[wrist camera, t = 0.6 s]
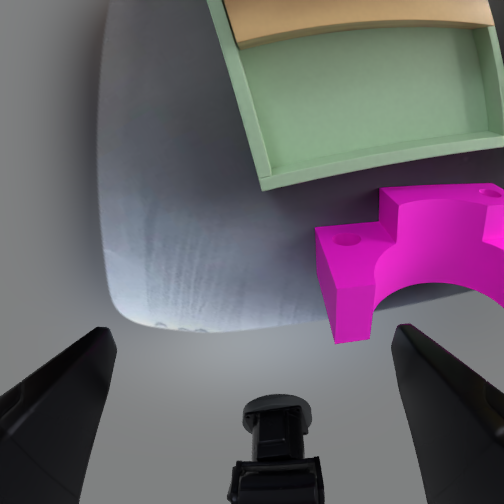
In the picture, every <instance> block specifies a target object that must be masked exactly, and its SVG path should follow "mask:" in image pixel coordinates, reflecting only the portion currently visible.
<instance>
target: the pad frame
mask: <svg viewBox="0 0 504 504" xmlns="http://www.w3.org/2000/svg"><path fill="white" fill-rule="evenodd" d="M207 3H208V7H209V10H210V13H211V16H212V20H213V23H214V26H215V29H216V33H217V36H218V39H219V43H220V46H221V49H222V53H223V56H224V59H225V63H226V66H227V69H228V73H229V76H230V80H231V83H232V86H233V90H234V93H235V97H236V100H237V104H238V107H239V111H240V114H241V118H242V121H243V125H244V128H245V132H246V135H247V139H248V143H249V146H250V150H251V153H252V157H253V161H254V164H255V168H256V172H257V175H258V178H259V183H260V186H261V190H262V191H267V190H271V189H275V188H280V187H284V186H288V185H293V184H297V183H302V182H306V181H311V180H315V179H320V178H325V177H329V176H334V175H339V174H344V173H349V172H354V171H359V170H364V169H369V168H374V167H379V166H385V165H390V164H396V163H401V162H407V161H413V160H419V159H424V158H431V157H437V156H443V155H449V154H456V153H463V152H470V151H477V150H484V149H492V148H500V147H504V67H503V61H502V56H501V51H500V47H499V42H498V38H497V34H496V30H495V26H490V27H483V28H476V29H458V28H438V27H396V28H375V29H362V30H351V31H342V32H333V33H326V34H318V35H312V36H306V37H300V38H294V39H289V40H283V41H278V42H274V43H269V44H264V45H260V46H256V47H251V48H247V49H243V50H240V49H239V46H238V44H237V42H236V39H235V36H234V32H233V29H232V26H231V23H230V19H229V16H228V13H227V10H226V7H225V4H224V0H207Z"/></svg>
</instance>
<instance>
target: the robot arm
mask: <svg viewBox="0 0 504 504" xmlns="http://www.w3.org/2000/svg"><path fill="white" fill-rule="evenodd" d="M391 350H392V355H393V361H394V366H395V370H396V376H397V382H398V387H399V392H400V395H401V399H402V402H403V406H404V409H405V413H406V416H407V420H408V424H409V427H410V431H411V435H412V438H413V442H414V446H415V450H416V454H417V458H418V462H419V467H420V471H421V475H422V480H423V484H424V489H425V494H426V498H427V503H428V504H504V393H502V392H501V391H500V390H498V389H497V388H496V387H494V386H493V385H492V384H490V383H489V382H488V381H487V382H486V380H485V379H484V378H482V377H481V376H480V375H479V374H477V373H476V372H475V371H473V370H472V369H470V368H469V367H468V366H467V365H465V364H464V363H463V362H462V361H460V360H459V359H457V358H456V357H455V356H454V355H452V354H451V353H450V352H448V351H447V350H445V349H444V348H443V347H441V346H440V345H439V344H438V343H436V342H435V341H433V340H432V339H431V338H429V337H428V336H426V335H425V334H424V333H422V332H421V331H420V330H418V329H417V328H416V327H414V326H413V325H411V324H400V325H398V326H397V328H396V331H395V335H394V338H393V341H392V345H391ZM116 353H117V348H116V344H115V342H114V339H113V336H112V334H111V331H110V329H109V328H107V327H96V328H95V329H93V330H92V331H90V332H89V333H87V334H86V335H85V336H83V337H82V338H80V339H79V340H78V341H76V342H75V343H73V344H72V345H71V346H69V347H68V348H66V349H65V350H64V351H62V352H61V353H59V354H58V355H57V356H55V357H54V358H52V359H51V360H50V361H48V362H47V363H46V364H44V365H43V366H41V367H40V368H39V369H37V370H36V371H35V372H33V373H32V374H30V375H29V376H28V377H26V378H25V379H24V380H22V382H20V383H18V384H17V385H16V386H14V387H13V388H11V389H10V390H9V391H7V392H6V393H4V394H3V395H2V396H0V504H79V501H80V500H79V499H80V495H81V491H82V486H83V482H84V478H85V474H86V470H87V466H88V462H89V458H90V454H91V450H92V447H93V443H94V439H95V436H96V432H97V429H98V425H99V422H100V418H101V415H102V412H103V408H104V405H105V402H106V399H107V395H108V391H109V387H110V382H111V377H112V372H113V367H114V362H115V358H116ZM244 419H245V421H246V423H247V425H248V426H249V428H250V430H251V432H252V434H253V436H252V461H244V462H242V461H237V462H236V466H235V467H233V470H232V480H231V484H230V487H229V491H228V494H227V500H228V501H230V502H231V504H324V502H325V500H324V498H325V497H324V484H323V478H322V472H321V466H320V459H319V456H317V457H314V458H305V453H304V441H303V435H307V434H308V428H307V424H306V421H305V417H304V414H303V410H302V407H301V406H300V405H294V406H288V407H282V408H275V409H268V410H261V411H253V412H246V413H244Z"/></svg>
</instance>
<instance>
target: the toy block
mask: <svg viewBox="0 0 504 504" xmlns="http://www.w3.org/2000/svg"><path fill="white" fill-rule="evenodd" d="M315 240H316V266H317V276H318V280H319V284H320V287H321V291H322V295H323V299H324V302H325V306H326V310H327V314H328V318H329V322H330V325H331V330H332V334H333V338H334V342H335V344H339V343H346V342H353V341H360V340H367V339H370V332H371V324H372V315H373V311H374V310H375V308H376V307H377V305H378V304H379V303H380V302H381V301H382V300H383V299H384V298H385V297H387V296H388V295H390V294H391V293H393V292H395V291H397V290H399V289H401V288H404V287H407V286H410V285H415V284H420V283H433V282H438V283H450V284H456V285H460V286H464V287H468V288H471V289H473V290H476V291H478V292H480V293H483V294H485V295H487V296H488V297H490V298H491V299H493V300H494V301H496V302H497V303H498V304H500V305H501V306H502V307H503V308H504V190H503V189H502V188H500V187H498V186H496V185H495V184H493V183H472V184H439V185H416V186H397V187H381V188H379V221H377V222H366V223H355V224H344V225H334V226H323V227H315Z"/></svg>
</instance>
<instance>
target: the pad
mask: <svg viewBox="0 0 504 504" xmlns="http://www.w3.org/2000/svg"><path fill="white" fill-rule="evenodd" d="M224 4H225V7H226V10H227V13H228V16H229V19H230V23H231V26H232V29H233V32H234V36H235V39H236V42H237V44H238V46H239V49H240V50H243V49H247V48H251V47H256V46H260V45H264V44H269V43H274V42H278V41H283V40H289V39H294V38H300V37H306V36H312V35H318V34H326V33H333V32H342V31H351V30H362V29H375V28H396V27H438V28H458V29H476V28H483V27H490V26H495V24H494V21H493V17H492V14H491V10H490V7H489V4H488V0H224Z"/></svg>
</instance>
